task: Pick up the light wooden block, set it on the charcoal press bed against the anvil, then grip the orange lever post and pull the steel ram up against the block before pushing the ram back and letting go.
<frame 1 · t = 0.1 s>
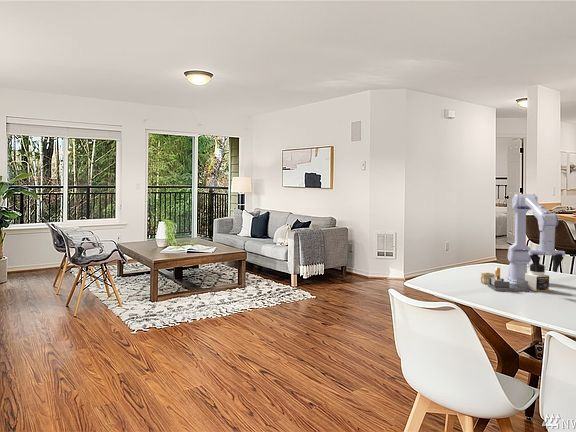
hand: (545, 271, 198), 10 cm above the table, fingers open, 7 cm apart
light wooden block: (487, 283, 220), on the table
press frame: (507, 288, 209), on the table
ram: (496, 276, 209), point 6 cm above the table, slide at 0.0 cm
medicine bottle: (536, 290, 207), on the table
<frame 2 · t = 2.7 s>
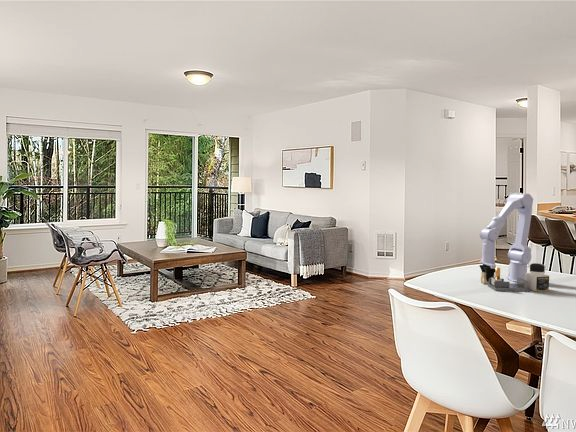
hand: (487, 280, 220), 1 cm above the table, fingers closed on light wooden block, 4 cm apart
light wooden block: (487, 283, 220), on the table, touching gripper
everything else where it was.
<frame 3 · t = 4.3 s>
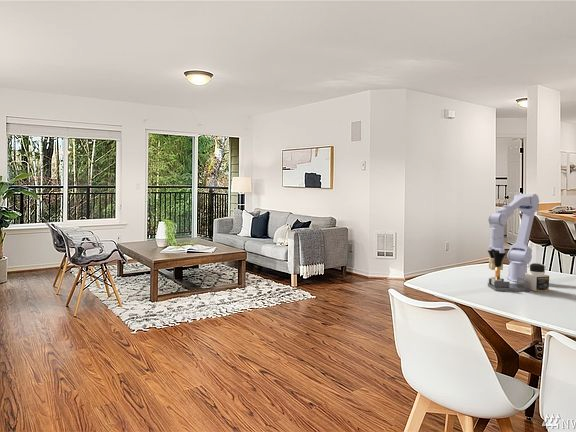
hand: (496, 265, 216), 9 cm above the table, fingers closed on light wooden block, 4 cm apart
light wooden block: (495, 269, 216), point 8 cm above the table, touching gripper
everything else where it was.
when the fingers open (4 cm above the table, at t = 6.2 s): light wooden block drops 1 cm, resting on press frame.
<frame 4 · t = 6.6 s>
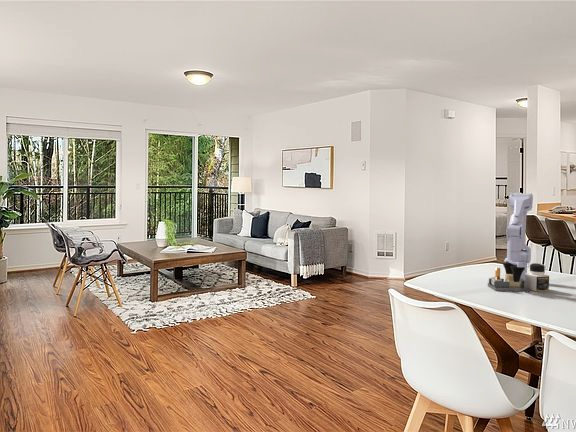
hand: (512, 279, 208), 4 cm above the table, fingers open, 7 cm apart
light wooden block: (512, 285, 208), point 1 cm above the table, touching press frame
everything else where it was.
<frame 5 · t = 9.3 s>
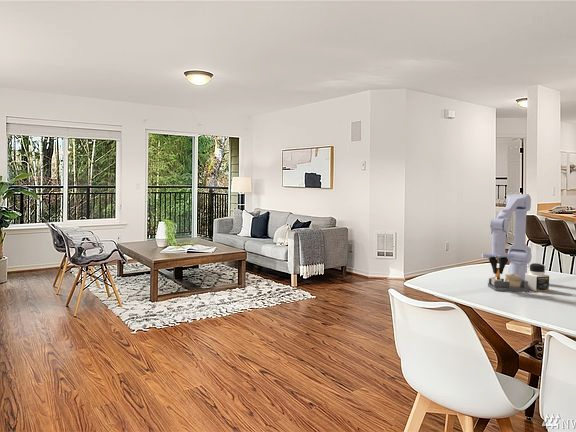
hand: (497, 273, 207), 7 cm above the table, fingers closed on ram, 2 cm apart
ram: (496, 276, 209), point 6 cm above the table, slide at 0.0 cm, touching gripper
everything else where it was.
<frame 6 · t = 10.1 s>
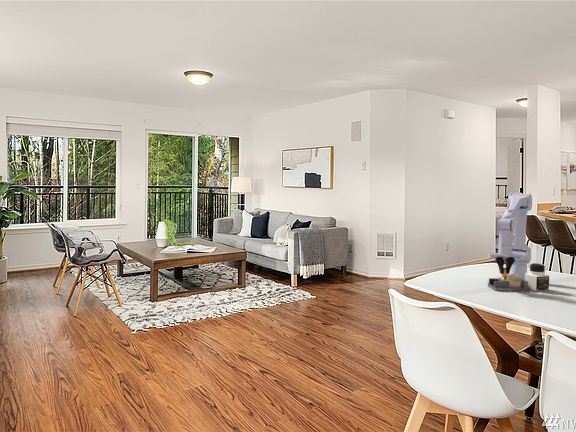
hand: (504, 273, 207), 7 cm above the table, fingers closed on ram, 2 cm apart
ram: (503, 276, 208), point 6 cm above the table, slide at 3.0 cm, touching gripper
everything else where it was.
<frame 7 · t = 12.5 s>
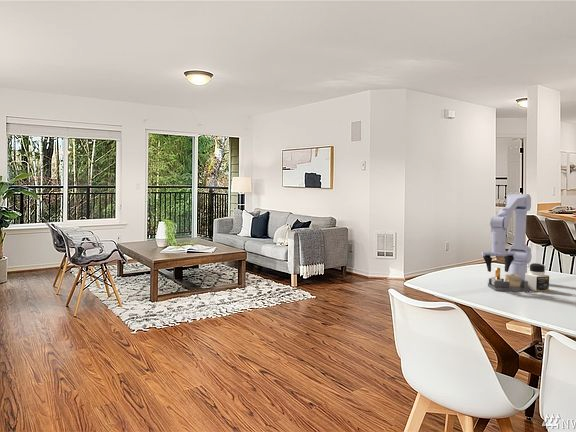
hand: (497, 271, 207), 8 cm above the table, fingers open, 7 cm apart
ram: (496, 276, 209), point 6 cm above the table, slide at 0.0 cm
everything else where it was.
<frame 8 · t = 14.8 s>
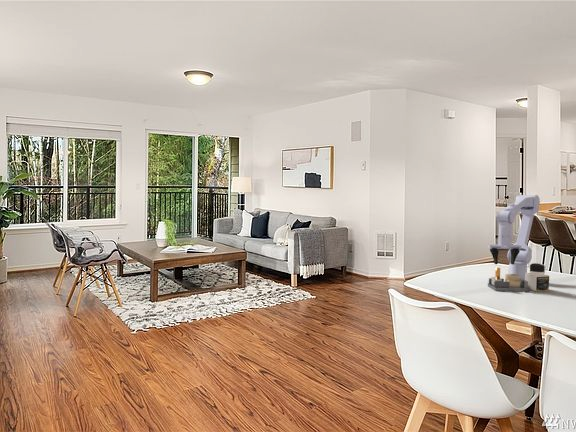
hand: (504, 264, 215), 10 cm above the table, fingers open, 7 cm apart
nothing on the table moved.
at the end: light wooden block 0.1 cm from the target spot on the press frame, point 1.5 cm above the press frame's base; ram slide at 0.0 cm; light wooden block tilted 0° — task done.
